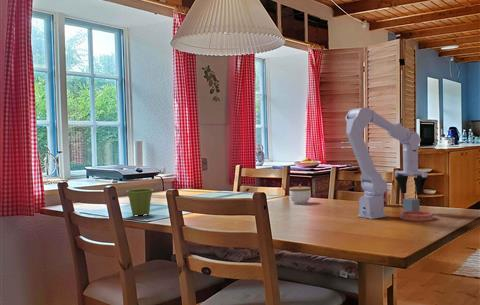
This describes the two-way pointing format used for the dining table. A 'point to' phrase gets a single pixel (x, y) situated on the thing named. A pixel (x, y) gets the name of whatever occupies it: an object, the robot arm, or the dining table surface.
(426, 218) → the terracotta dish
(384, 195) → the soda can
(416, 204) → the slate block
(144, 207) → the plant pot
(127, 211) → the dining table surface
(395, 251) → the dining table surface
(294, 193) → the lidded jar
